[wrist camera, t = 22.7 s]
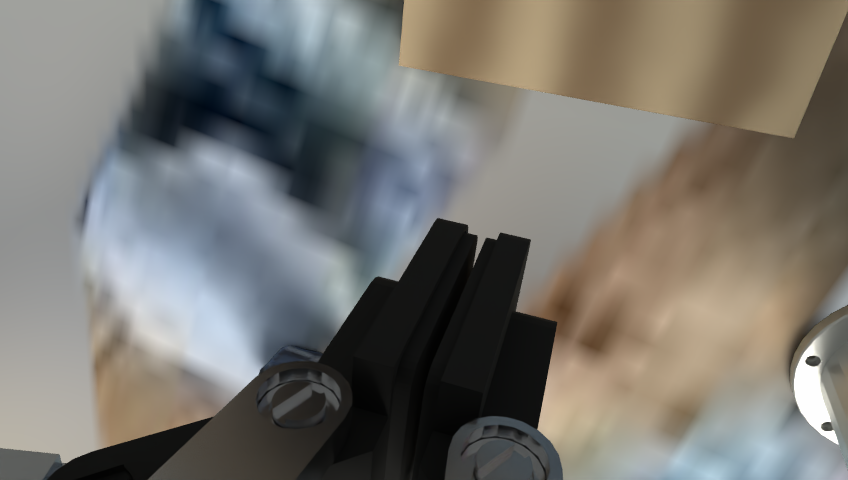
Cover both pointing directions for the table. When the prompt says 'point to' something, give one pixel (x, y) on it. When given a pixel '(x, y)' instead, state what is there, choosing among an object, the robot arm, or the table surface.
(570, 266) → the table surface
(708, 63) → the oak plank
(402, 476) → the robot arm
